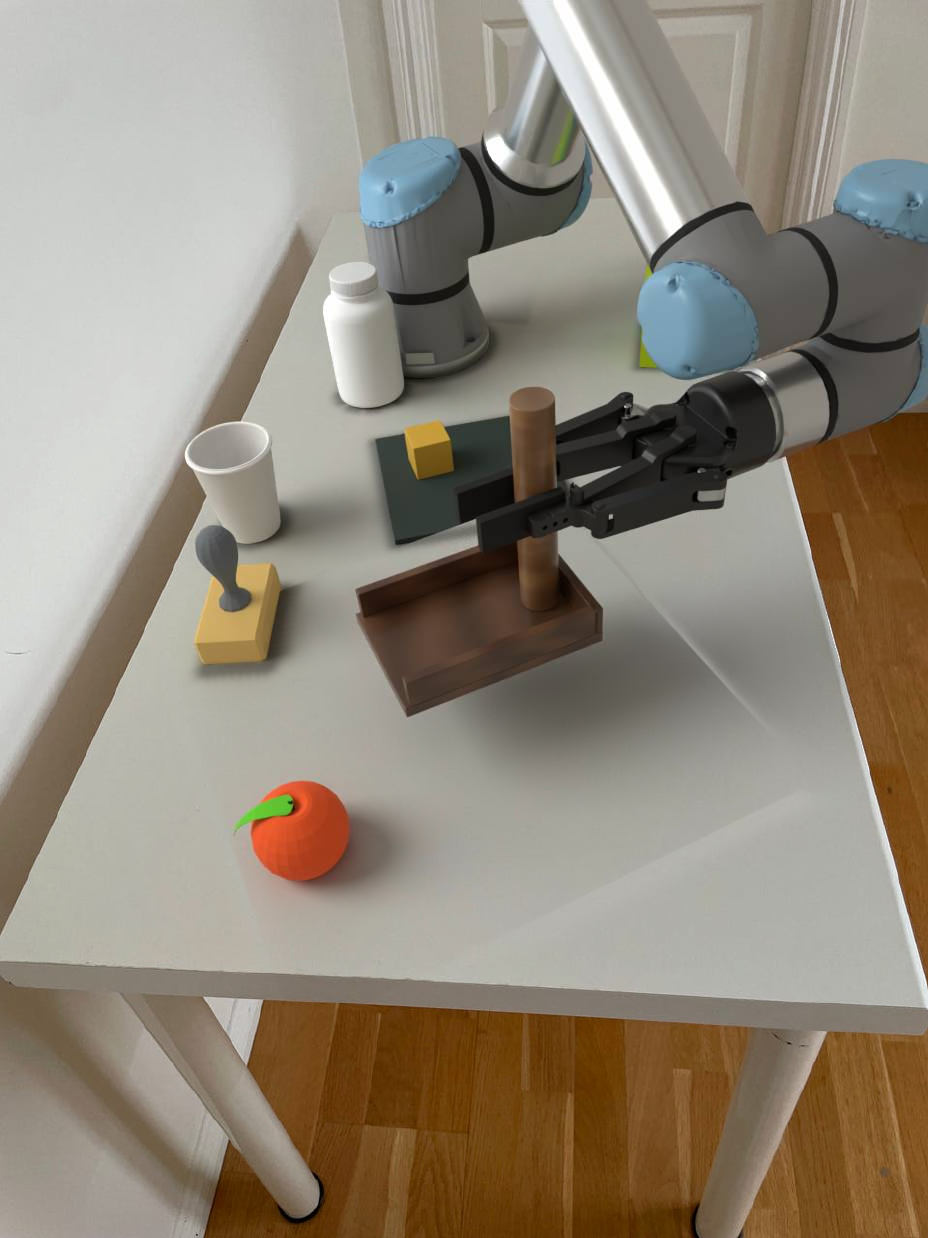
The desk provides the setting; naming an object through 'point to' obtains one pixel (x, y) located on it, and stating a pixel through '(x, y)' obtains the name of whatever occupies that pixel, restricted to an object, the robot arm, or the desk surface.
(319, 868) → the clementine
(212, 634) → the rubber stamp
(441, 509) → the mat
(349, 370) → the pill bottle
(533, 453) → the wooden peg tray
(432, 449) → the block
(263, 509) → the dixie cup
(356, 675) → the desk surface
